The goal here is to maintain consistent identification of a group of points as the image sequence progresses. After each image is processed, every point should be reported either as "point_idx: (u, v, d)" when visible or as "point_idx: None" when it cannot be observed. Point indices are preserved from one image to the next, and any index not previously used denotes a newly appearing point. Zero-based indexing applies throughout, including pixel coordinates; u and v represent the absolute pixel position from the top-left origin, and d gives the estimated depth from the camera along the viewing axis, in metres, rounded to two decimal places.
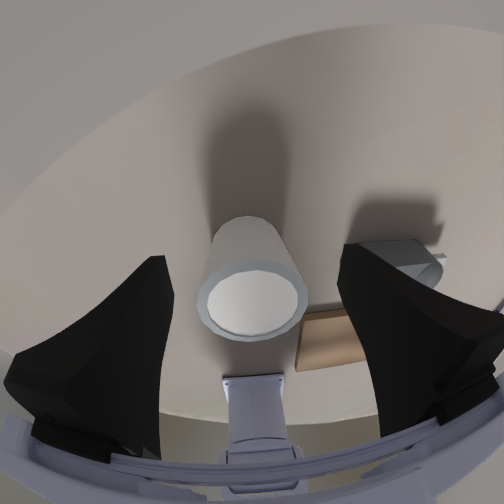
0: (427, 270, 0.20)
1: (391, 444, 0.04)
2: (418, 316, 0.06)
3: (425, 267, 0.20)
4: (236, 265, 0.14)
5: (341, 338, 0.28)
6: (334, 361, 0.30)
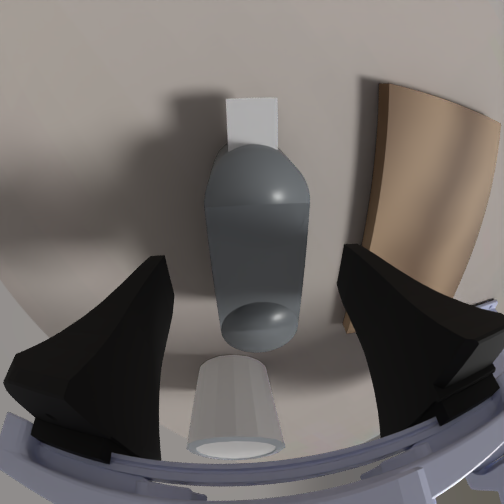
0: (229, 223, 0.09)
1: (391, 444, 0.04)
2: (417, 316, 0.06)
3: (219, 234, 0.09)
4: (194, 452, 0.15)
5: (411, 274, 0.15)
6: (457, 267, 0.15)
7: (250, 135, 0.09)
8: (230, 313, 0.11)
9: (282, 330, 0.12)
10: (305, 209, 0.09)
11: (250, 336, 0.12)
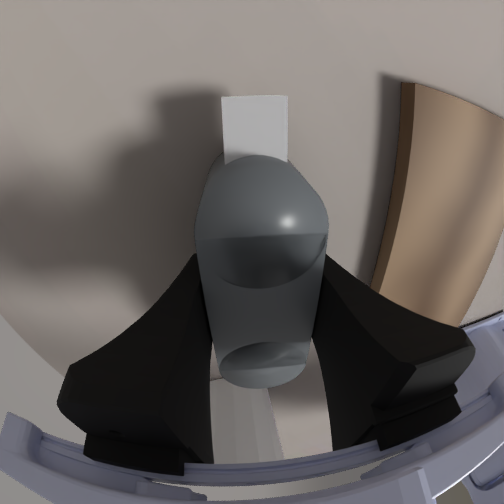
0: (227, 258, 0.07)
1: None
2: (357, 328, 0.06)
3: (215, 271, 0.07)
4: None
5: (427, 294, 0.13)
6: (472, 283, 0.13)
7: (252, 144, 0.07)
8: (229, 353, 0.09)
9: (288, 368, 0.10)
10: (322, 240, 0.07)
11: (252, 374, 0.10)
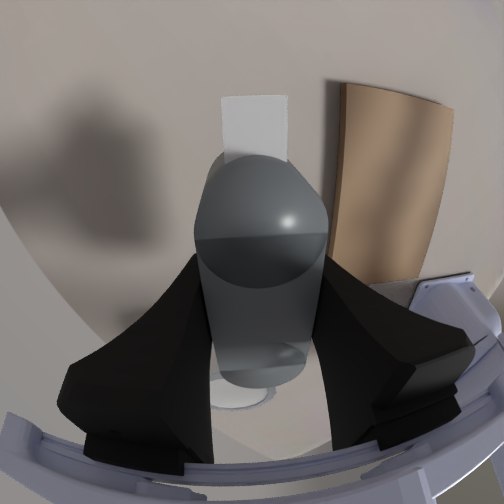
0: (226, 258, 0.07)
1: None
2: (357, 328, 0.06)
3: (214, 271, 0.07)
4: None
5: (378, 235, 0.19)
6: (423, 233, 0.19)
7: (252, 143, 0.07)
8: (229, 353, 0.09)
9: (288, 367, 0.10)
10: (322, 240, 0.07)
11: (252, 374, 0.10)
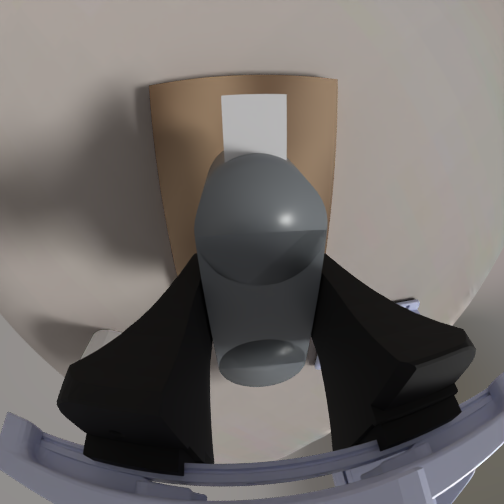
0: (226, 255, 0.07)
1: None
2: (357, 328, 0.06)
3: (214, 268, 0.07)
4: None
5: None
6: None
7: (251, 142, 0.07)
8: (229, 351, 0.10)
9: (288, 365, 0.10)
10: (321, 237, 0.07)
11: (252, 372, 0.10)
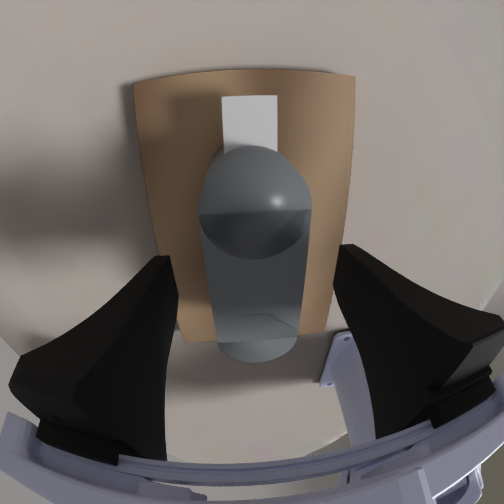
0: (225, 231, 0.08)
1: (391, 444, 0.04)
2: (411, 317, 0.06)
3: (215, 243, 0.09)
4: None
5: None
6: (316, 278, 0.15)
7: (247, 136, 0.08)
8: (227, 324, 0.11)
9: (281, 340, 0.12)
10: (307, 216, 0.08)
11: (248, 347, 0.12)
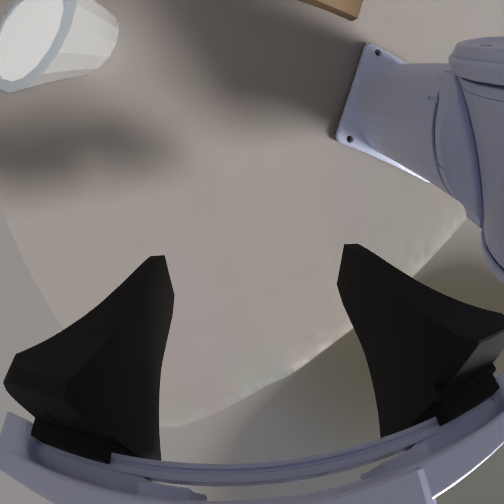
0: None
1: (391, 444, 0.04)
2: (418, 316, 0.06)
3: None
4: None
5: None
6: None
7: None
8: None
9: None
10: None
11: None
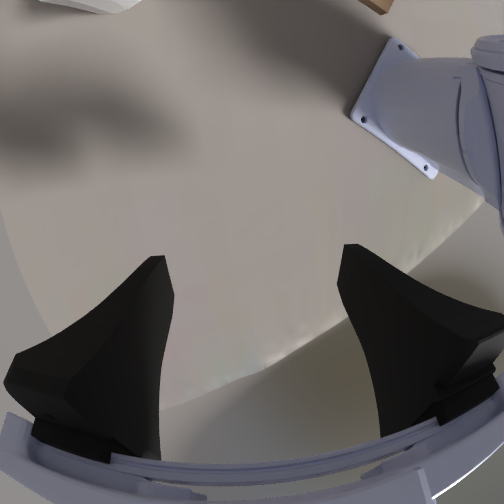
0: None
1: (391, 444, 0.04)
2: (417, 316, 0.06)
3: None
4: None
5: None
6: None
7: None
8: None
9: None
10: None
11: None
